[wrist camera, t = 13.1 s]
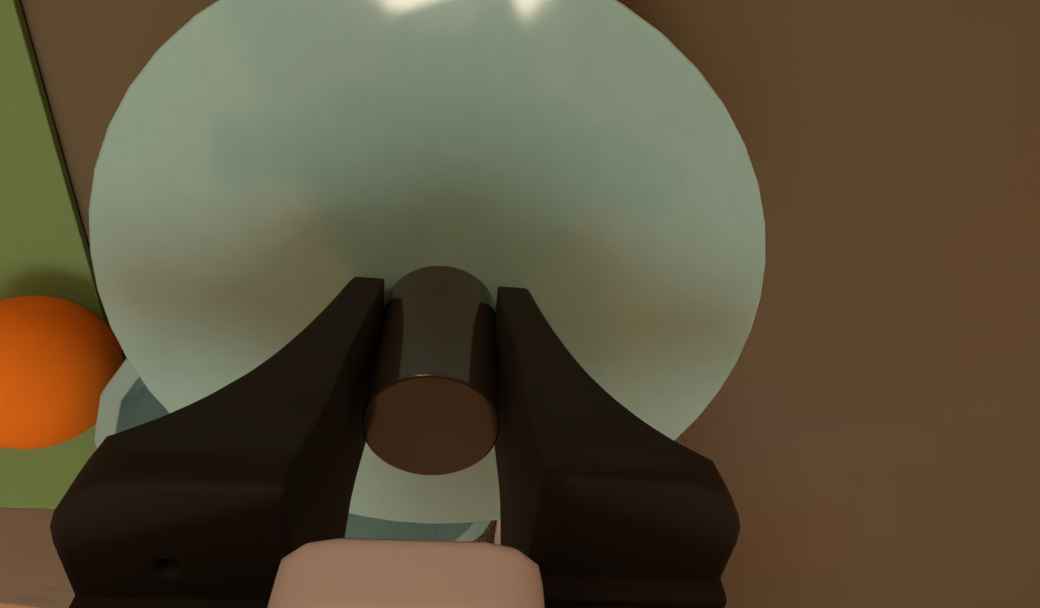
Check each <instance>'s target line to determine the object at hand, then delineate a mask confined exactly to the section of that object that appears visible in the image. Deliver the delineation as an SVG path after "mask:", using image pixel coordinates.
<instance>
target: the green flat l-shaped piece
mask: <svg viewBox="0 0 1040 608" xmlns="http://www.w3.org/2000/svg"><path fill="white" fill-rule="evenodd" d="M32 295H39V296H51V297H56V298H60V299H65V300H68V301H71V302H74V303H76V304H79V305H81V306H83V307H85V308H86V309H88V310H90V311H91V312H93V313H94V314H95V315H97V316H98V317H99V318H101V319H102V320H103V321H104V322H105V323H106V324H107V325H108V327H109V328H110V329H111V327H110V324H109V321H108V318H107V315H106V313H105V310H104V307H103V304H102V301H101V298H100V296H99V293H98V290H97V285H96V280H95V274H94V269H93V264H92V259H91V255H90V251H89V248H88V244H87V241H86V237H85V233H84V230H83V226H82V223H81V219H80V216H79V212H78V208H77V205H76V201H75V198H74V194H73V191H72V187H71V183H70V180H69V176H68V173H67V169H66V166H65V162H64V158H63V155H62V151H61V148H60V144H59V141H58V137H57V133H56V130H55V126H54V123H53V119H52V116H51V112H50V108H49V105H48V101H47V98H46V94H45V91H44V87H43V83H42V80H41V76H40V73H39V69H38V65H37V62H36V58H35V55H34V51H33V48H32V44H31V40H30V37H29V33H28V30H27V26H26V23H25V19H24V15H23V12H22V8H21V5H20V1H19V0H0V301H1V300H4V299H7V298H13V297H19V296H32ZM111 331H112V330H111ZM95 429H96V424H95V425H94V426H92V427H91V428H90V429H88V430H87V431H85V432H84V433H82V434H80V435H79V436H77V437H75V438H73V439H70V440H68V441H66V442H63V443H60V444H57V445H53V446H50V447H44V448H38V449H23V450H22V449H9V448H2V447H0V507H6V508H44V509H56V507H57V506H58V504H59V503H60V501H61V500H62V498H63V497H64V495H65V494H66V492H67V490H68V489H69V487H70V486H71V484H72V483H73V481H74V480H75V478H76V477H77V475H78V474H79V472H80V471H81V469H82V468H83V466H84V465H85V463H86V462H87V461H88V459H89V458H90V457H91V455H92V454H93V453H94V452H95V451H96V449H97V448H96V445H95V441H94V436H95Z"/></svg>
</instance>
